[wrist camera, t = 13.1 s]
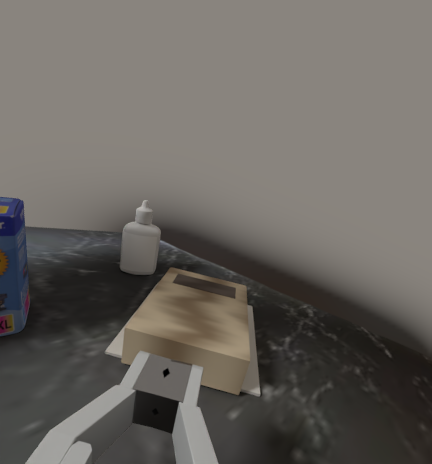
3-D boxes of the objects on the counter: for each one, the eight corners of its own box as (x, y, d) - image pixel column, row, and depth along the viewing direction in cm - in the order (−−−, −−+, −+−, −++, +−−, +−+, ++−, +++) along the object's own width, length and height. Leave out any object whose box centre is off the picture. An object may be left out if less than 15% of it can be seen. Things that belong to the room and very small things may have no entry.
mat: (104, 353, 19) (105, 351, 19) (157, 283, 32) (158, 282, 32) (259, 396, 19) (260, 394, 18) (251, 307, 31) (252, 306, 31)
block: (124, 326, 17) (170, 266, 29) (121, 362, 19) (166, 291, 30) (250, 360, 17) (246, 285, 28) (238, 395, 18) (239, 309, 29)
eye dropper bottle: (142, 281, 32) (151, 206, 28) (115, 269, 33) (120, 197, 30) (159, 271, 36) (169, 204, 32) (134, 260, 37) (141, 195, 34)
